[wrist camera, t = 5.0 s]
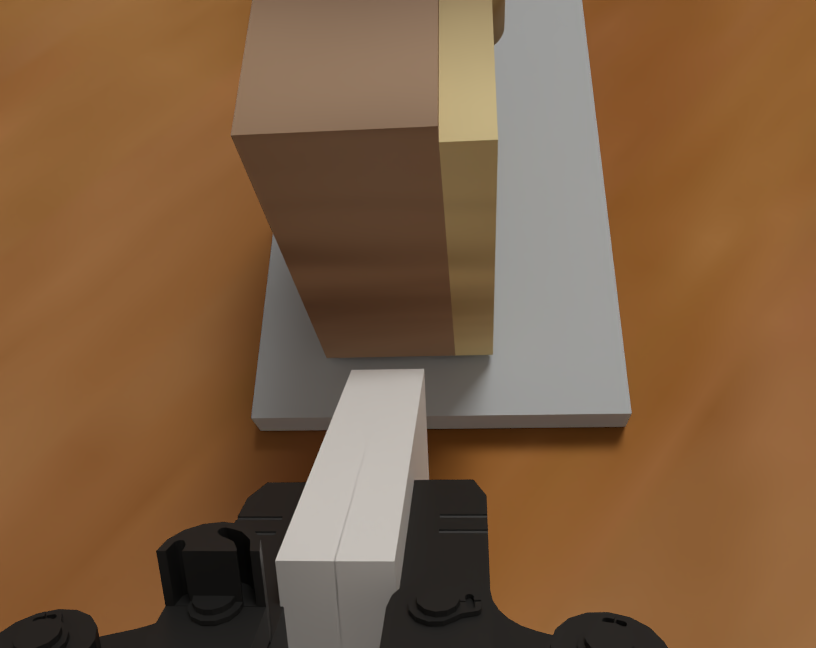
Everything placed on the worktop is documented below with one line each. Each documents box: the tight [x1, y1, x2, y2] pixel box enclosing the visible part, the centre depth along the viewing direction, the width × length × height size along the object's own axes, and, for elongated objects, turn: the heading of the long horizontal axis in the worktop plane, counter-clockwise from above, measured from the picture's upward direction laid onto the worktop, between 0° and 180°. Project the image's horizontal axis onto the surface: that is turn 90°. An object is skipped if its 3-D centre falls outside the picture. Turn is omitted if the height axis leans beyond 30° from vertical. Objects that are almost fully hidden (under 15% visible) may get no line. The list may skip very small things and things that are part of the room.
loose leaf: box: [231, 0, 505, 358], centre depth 19 cm, size 10×5×9 cm, turn 179°
